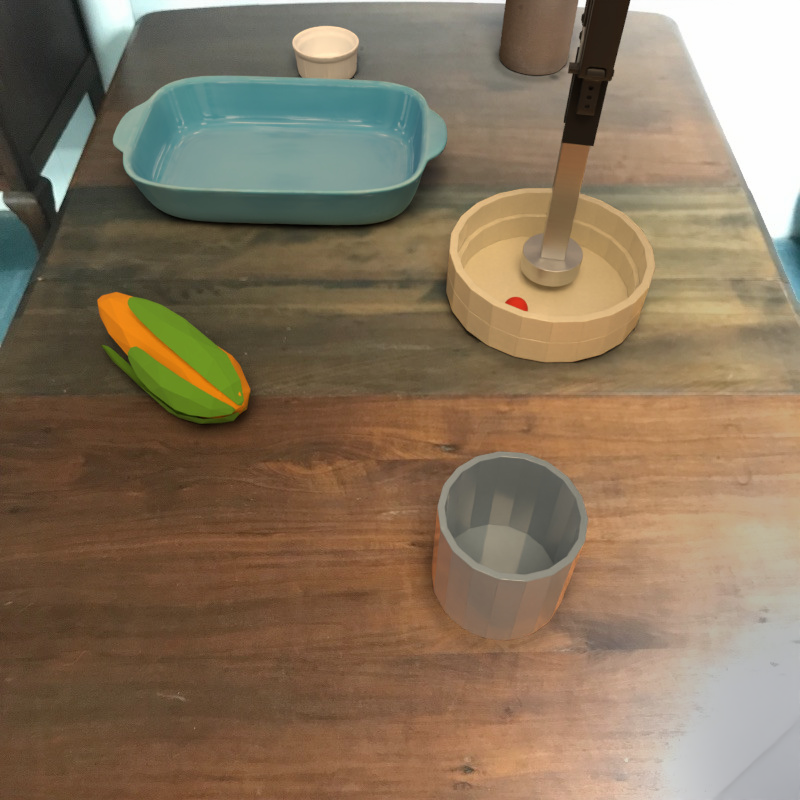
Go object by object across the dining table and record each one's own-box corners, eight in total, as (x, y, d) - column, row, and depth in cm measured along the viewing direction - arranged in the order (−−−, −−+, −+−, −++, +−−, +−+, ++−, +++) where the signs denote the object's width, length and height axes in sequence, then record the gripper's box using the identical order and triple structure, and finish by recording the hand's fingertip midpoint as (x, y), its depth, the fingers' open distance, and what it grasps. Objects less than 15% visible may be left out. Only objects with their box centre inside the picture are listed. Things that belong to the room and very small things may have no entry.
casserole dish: (104, 236, 86) (85, 180, 80) (153, 122, 100) (140, 68, 95) (443, 249, 85) (446, 193, 80) (444, 132, 99) (448, 79, 94)
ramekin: (286, 63, 110) (282, 32, 106) (345, 50, 112) (343, 20, 109) (308, 94, 105) (306, 63, 101) (370, 80, 107) (369, 49, 104)
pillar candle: (488, 47, 113) (500, -67, 102) (551, 37, 115) (569, -76, 104) (514, 81, 107) (530, -36, 96) (580, 70, 109) (602, -45, 98)
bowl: (680, 312, 80) (698, 267, 75) (531, 398, 72) (541, 354, 68) (550, 211, 90) (559, 166, 85) (408, 278, 82) (409, 232, 78)
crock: (589, 594, 60) (619, 528, 52) (486, 669, 57) (501, 610, 49) (505, 501, 65) (521, 429, 58) (405, 564, 62) (408, 496, 54)
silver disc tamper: (591, 272, 80) (653, 40, 62) (547, 294, 78) (596, 61, 59) (552, 240, 83) (599, 10, 65) (508, 261, 81) (544, 29, 63)
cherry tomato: (535, 312, 78) (526, 321, 76) (514, 319, 79) (505, 327, 77) (525, 290, 77) (516, 298, 75) (504, 297, 78) (495, 306, 77)
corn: (196, 402, 62) (50, 284, 70) (208, 462, 67) (72, 346, 76) (267, 355, 66) (121, 248, 74) (273, 414, 71) (136, 309, 79)
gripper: (591, -233, 56) (541, 81, 74) (583, -162, 46) (528, 179, 64) (700, -226, 55) (622, 90, 73) (715, -153, 45) (621, 190, 64)
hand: (578, 131), depth 69 cm, fingers closed on silver disc tamper, 2 cm apart
